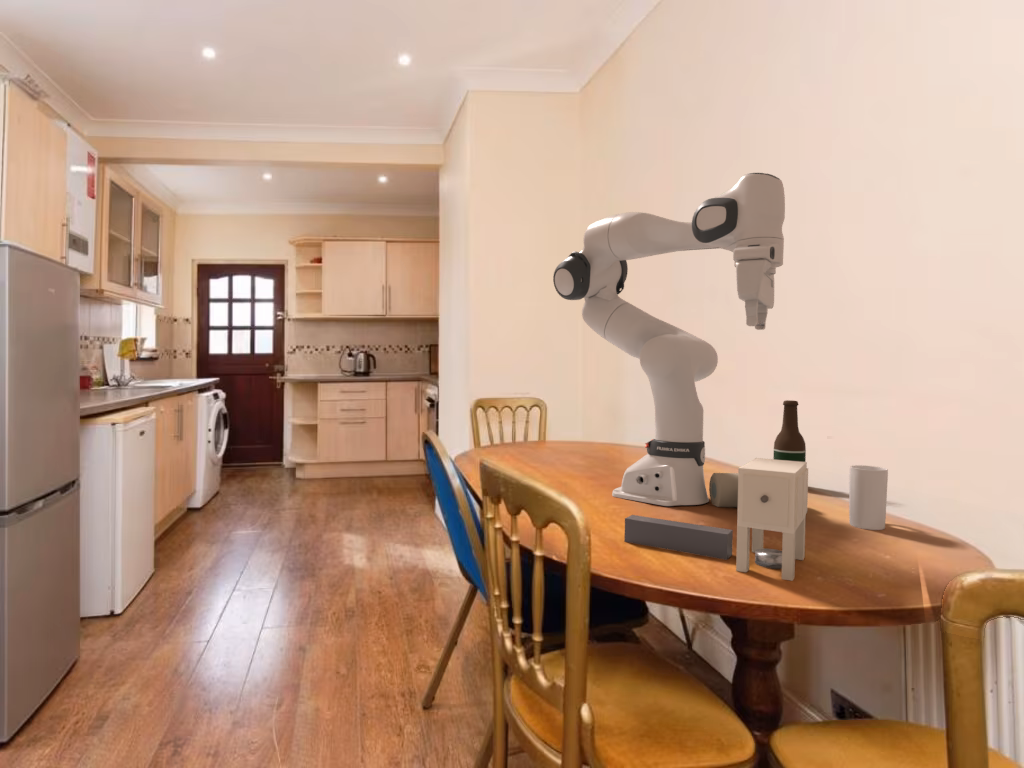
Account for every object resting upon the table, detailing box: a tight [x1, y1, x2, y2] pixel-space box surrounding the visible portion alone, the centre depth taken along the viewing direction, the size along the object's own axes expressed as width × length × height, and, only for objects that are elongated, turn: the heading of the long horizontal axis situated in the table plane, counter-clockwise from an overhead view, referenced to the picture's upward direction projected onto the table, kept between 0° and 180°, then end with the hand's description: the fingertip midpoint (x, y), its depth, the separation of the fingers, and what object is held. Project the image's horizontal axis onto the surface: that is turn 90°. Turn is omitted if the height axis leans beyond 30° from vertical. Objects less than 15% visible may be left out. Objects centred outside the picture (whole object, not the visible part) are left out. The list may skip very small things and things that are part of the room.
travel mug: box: [708, 472, 738, 508], centre depth 139 cm, size 8×8×18 cm
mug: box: [848, 464, 889, 531], centre depth 124 cm, size 10×7×12 cm, turn 150°
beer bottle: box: [772, 399, 807, 462], centre depth 160 cm, size 8×8×24 cm
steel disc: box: [754, 547, 782, 570], centre depth 97 cm, size 5×5×2 cm
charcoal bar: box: [623, 514, 734, 561], centre depth 106 cm, size 18×4×4 cm, turn 56°
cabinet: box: [735, 457, 809, 582], centre depth 97 cm, size 8×15×16 cm, turn 148°
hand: (756, 327), depth 119 cm, fingers open, 8 cm apart
